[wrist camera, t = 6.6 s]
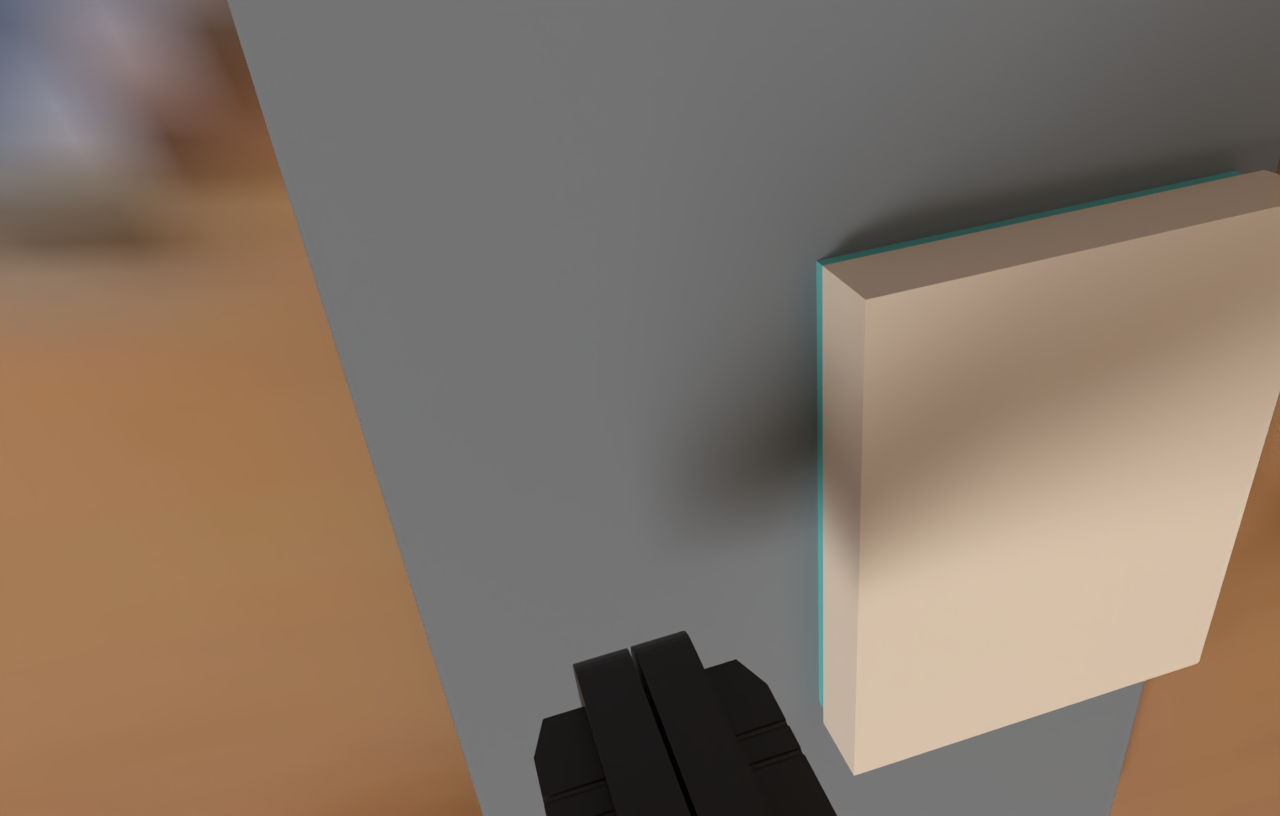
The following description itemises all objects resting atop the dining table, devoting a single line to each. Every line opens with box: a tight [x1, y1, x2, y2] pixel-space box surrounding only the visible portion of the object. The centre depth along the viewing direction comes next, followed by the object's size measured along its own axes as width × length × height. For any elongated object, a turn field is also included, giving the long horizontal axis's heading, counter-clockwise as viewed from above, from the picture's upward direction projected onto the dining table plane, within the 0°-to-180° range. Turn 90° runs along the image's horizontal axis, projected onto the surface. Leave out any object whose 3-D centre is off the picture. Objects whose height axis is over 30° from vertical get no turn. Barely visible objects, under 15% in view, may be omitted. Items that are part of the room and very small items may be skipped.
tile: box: [816, 170, 1280, 776], centre depth 15 cm, size 9×2×7 cm
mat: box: [227, 0, 1280, 816], centre depth 16 cm, size 22×14×1 cm, turn 6°
